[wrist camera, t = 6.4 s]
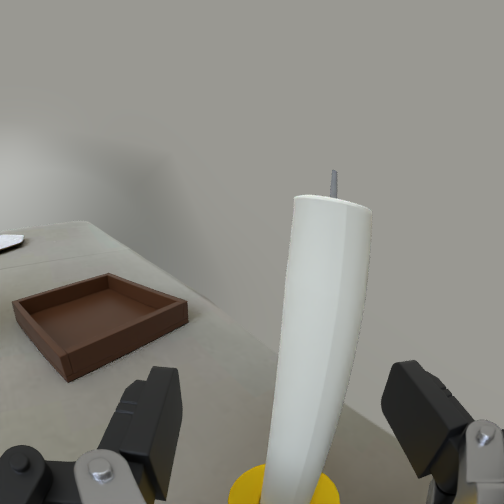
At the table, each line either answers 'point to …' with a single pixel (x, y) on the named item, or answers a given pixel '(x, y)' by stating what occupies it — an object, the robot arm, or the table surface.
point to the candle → (313, 350)
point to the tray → (96, 321)
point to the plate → (10, 240)
